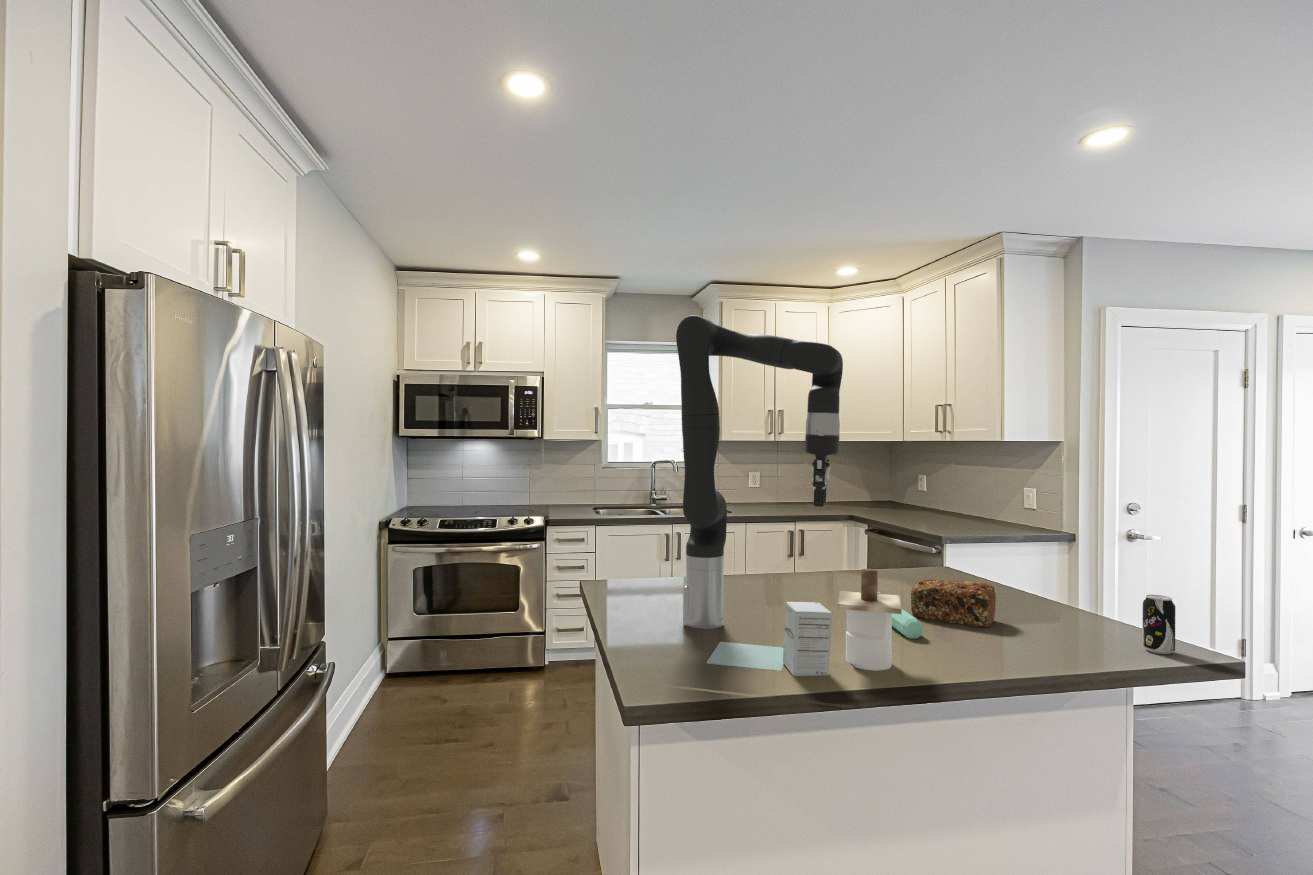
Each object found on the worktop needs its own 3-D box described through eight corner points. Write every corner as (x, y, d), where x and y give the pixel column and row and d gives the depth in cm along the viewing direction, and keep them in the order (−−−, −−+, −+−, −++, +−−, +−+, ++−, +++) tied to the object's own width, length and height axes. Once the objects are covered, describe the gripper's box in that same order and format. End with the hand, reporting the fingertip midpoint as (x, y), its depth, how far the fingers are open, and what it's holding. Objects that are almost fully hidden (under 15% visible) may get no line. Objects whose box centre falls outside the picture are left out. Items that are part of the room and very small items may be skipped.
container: (922, 614, 154) (882, 587, 179) (899, 624, 154) (861, 596, 179) (932, 637, 155) (890, 608, 180) (908, 647, 154) (869, 616, 179)
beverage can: (1136, 649, 149) (1136, 594, 149) (1152, 646, 151) (1153, 592, 151) (1164, 657, 143) (1165, 600, 143) (1181, 653, 146) (1181, 598, 146)
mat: (706, 664, 136) (706, 662, 136) (720, 643, 150) (720, 641, 150) (781, 672, 132) (781, 670, 132) (788, 649, 146) (788, 647, 146)
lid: (837, 608, 134) (837, 573, 134) (840, 595, 146) (840, 563, 146) (901, 614, 131) (901, 577, 131) (899, 600, 142) (899, 566, 142)
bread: (996, 621, 172) (996, 581, 172) (987, 630, 163) (988, 589, 163) (920, 609, 183) (921, 572, 183) (908, 617, 174) (909, 578, 174)
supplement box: (781, 663, 136) (784, 600, 136) (817, 663, 137) (820, 601, 137) (791, 676, 129) (795, 610, 129) (829, 677, 129) (833, 611, 129)
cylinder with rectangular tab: (837, 662, 138) (838, 604, 138) (858, 652, 145) (858, 596, 145) (879, 673, 132) (880, 612, 132) (899, 662, 138) (899, 604, 138)
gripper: (808, 433, 161) (805, 500, 161) (802, 432, 148) (800, 506, 148) (840, 434, 159) (838, 502, 159) (838, 433, 145) (835, 508, 146)
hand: (819, 504), depth 153 cm, fingers open, 8 cm apart
